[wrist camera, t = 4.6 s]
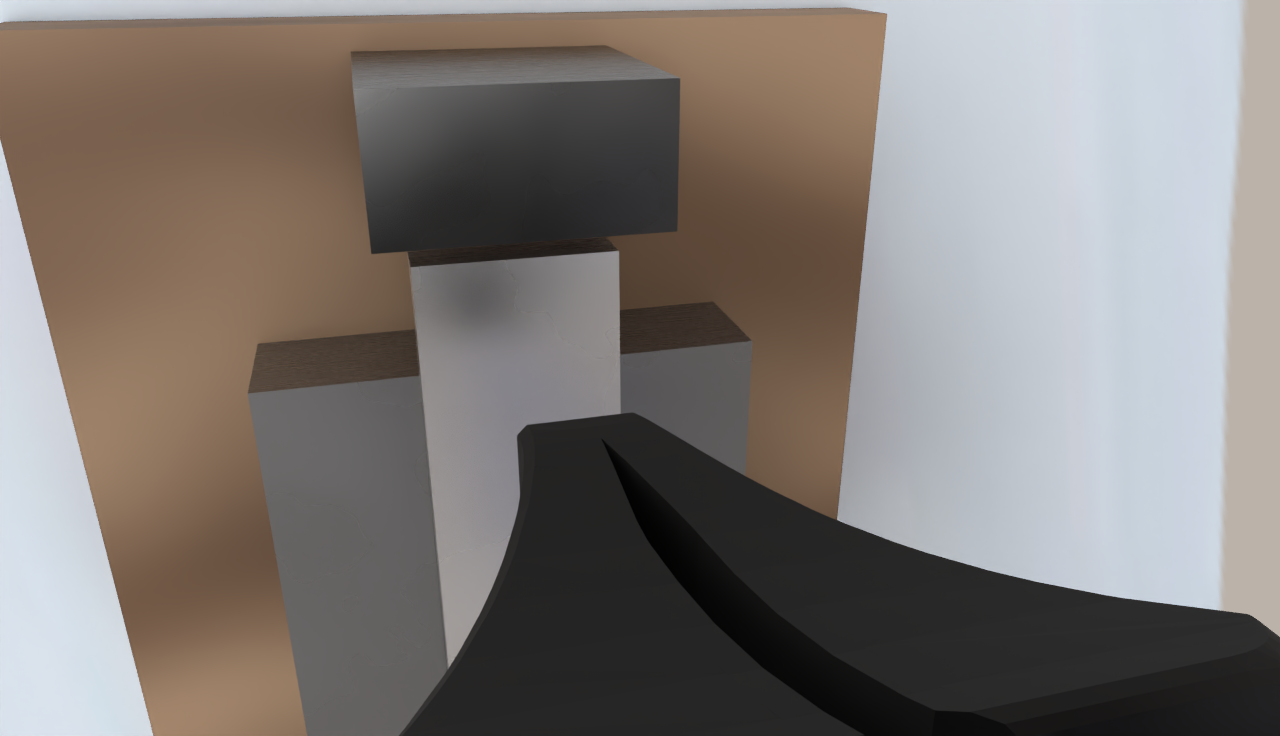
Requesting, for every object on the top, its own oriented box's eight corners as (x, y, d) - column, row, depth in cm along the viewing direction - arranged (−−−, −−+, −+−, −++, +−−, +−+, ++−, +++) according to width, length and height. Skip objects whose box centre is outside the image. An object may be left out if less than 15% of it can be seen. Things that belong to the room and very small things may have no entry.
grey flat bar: (615, 870, 20) (631, 925, 19) (470, 903, 20) (478, 963, 19) (606, 236, 15) (627, 260, 14) (406, 252, 14) (412, 278, 13)
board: (781, 799, 26) (804, 844, 25) (225, 925, 23) (218, 985, 22) (847, 7, 18) (886, 13, 17) (5, 21, 15) (-28, 30, 14)
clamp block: (696, 769, 23) (760, 920, 20) (340, 844, 21) (340, 1028, 18) (721, 42, 16) (825, 73, 13) (209, 54, 15) (166, 95, 11)
